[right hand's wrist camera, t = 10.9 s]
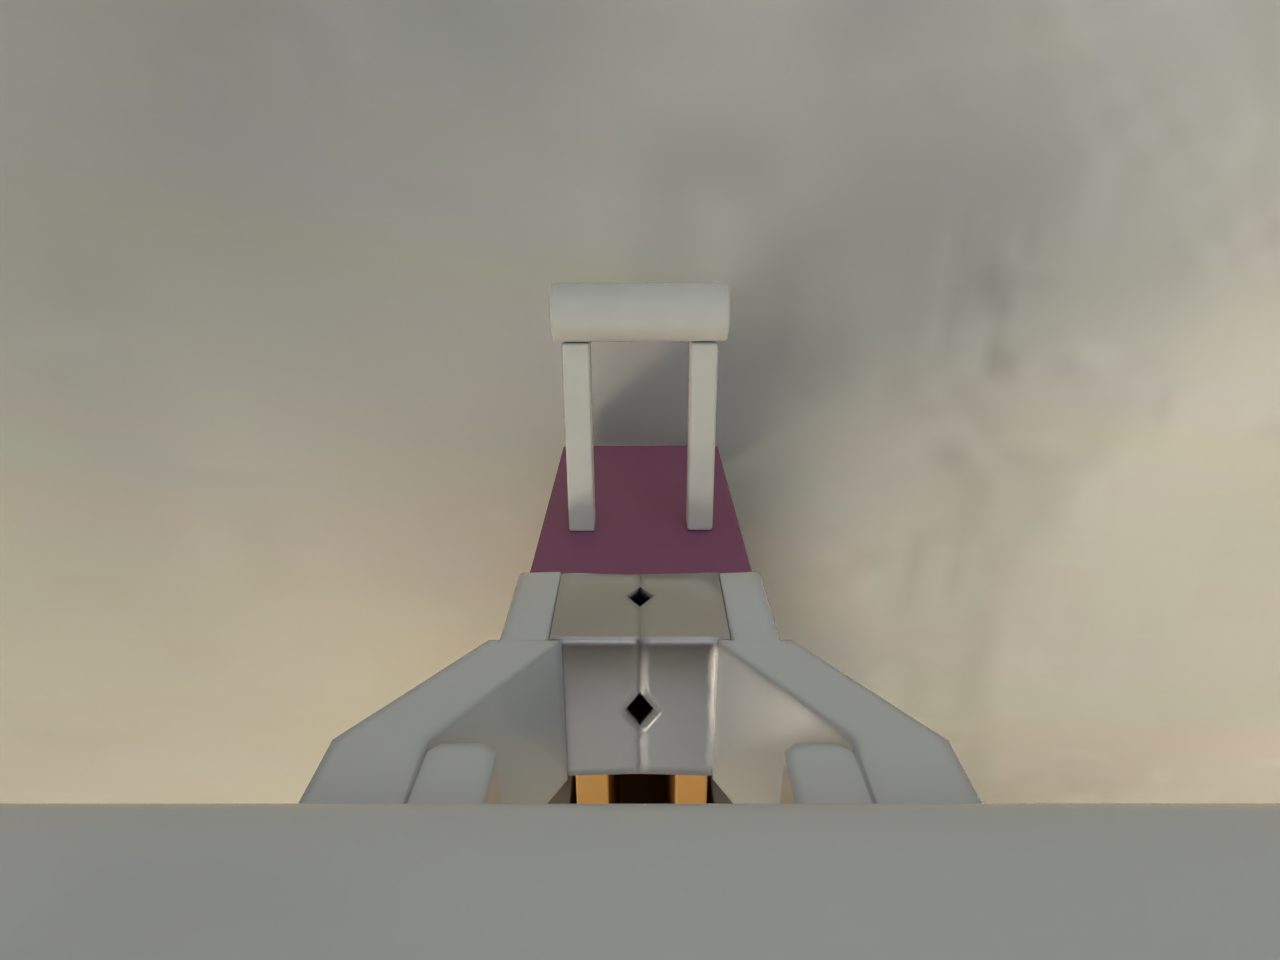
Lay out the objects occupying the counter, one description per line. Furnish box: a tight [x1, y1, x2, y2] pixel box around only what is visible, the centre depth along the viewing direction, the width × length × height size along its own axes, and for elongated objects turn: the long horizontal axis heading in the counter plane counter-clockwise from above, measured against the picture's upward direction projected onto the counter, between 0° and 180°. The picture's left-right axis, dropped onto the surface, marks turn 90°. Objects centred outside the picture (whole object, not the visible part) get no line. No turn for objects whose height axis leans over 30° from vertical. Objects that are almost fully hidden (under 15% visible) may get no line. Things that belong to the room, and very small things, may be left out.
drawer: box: [530, 283, 752, 804], centre depth 22 cm, size 21×5×8 cm, turn 0°
